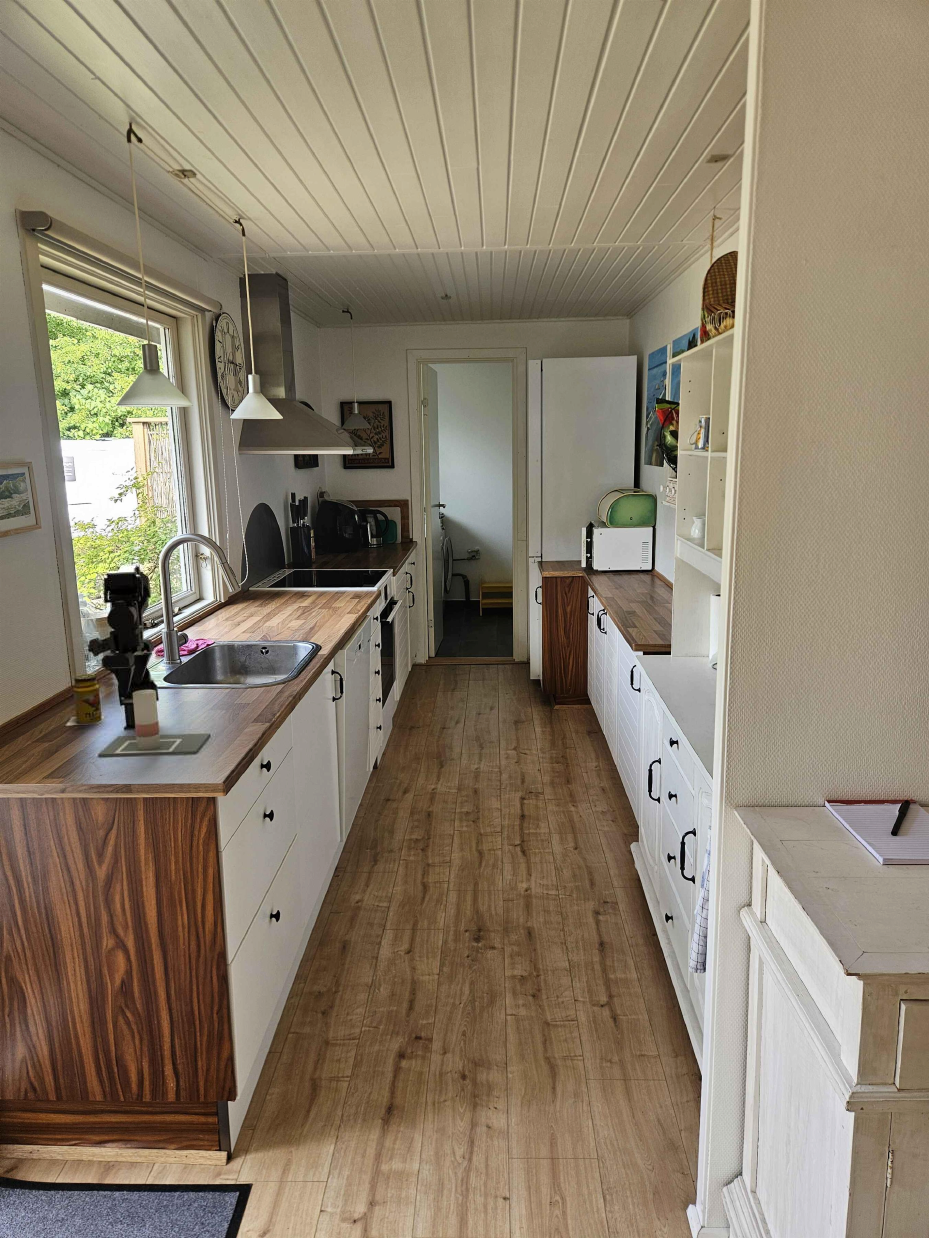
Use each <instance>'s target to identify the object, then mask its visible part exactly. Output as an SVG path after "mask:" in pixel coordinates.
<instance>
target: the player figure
mask: <svg viewBox="0 0 929 1238" xmlns="http://www.w3.org/2000/svg"><path fill="white" fill-rule="evenodd" d="M157 703H158V701H156V691H155V690H140V691H136V692H134V693H133V704H134V715H135V729H134V730H135V736H136V737H137V748H138V749H140V750H149V749H154V748H157V747H159V746H160V736H159V735H160V724H159V723H160V722H159V715H158V706H157Z"/></svg>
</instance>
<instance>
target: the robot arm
mask: <svg viewBox="0 0 929 1238" xmlns="http://www.w3.org/2000/svg"><path fill="white" fill-rule="evenodd" d="M151 597H152V589H151V584H150V577H149V576H148V575H146V574H145V573H143V571H141V568H140V565H139V564H138V565H137V564H135V563H134V564H121V565H119V566H118V567H117V571H115V570H114V571H107V573H106V576H104V577H103V602H104V604H110V603H111V607H110V608H111V609H110V610H109V612H108V613H107V616H106V621H107V624H108V626H109V627H110V628H111V630H110V631H109V635H107V636H105V637H103V638H99V637H97V636H96V637H94V638H93V639H90V640H89V641H88V644H87V652H88V653H91V654H92V656H93V657H94V658H96V657H98V656H99V655H101V654H103V653H106V652H108V651H110V652H109V653H107V654H105V655H104V656H103V657H102V658H101V667H102V668H103V669H105V670H106V671H109V672H111V673H112V674H113V675H114V677H115V679H116V681H117V694H118V700H119V707H124V709H123V710H124V717H125V718H124V720H125V725H124V726H123V730H136V729H135V715H134V704H133V693H134V692H136V691H140V690H155V691H156V701H157V702H160V698H159V697H160V696H159V690H158V685H157V684H156V682H155V680H154V679H152V675H151V671H150V670H149V668H148V664H149V662H150V660H151V657H152V655H153V652H154V651H155V646H154V645H155V644H154V642H153V641H152V640H151V639H150V638H149V639H147V638H146V639H144V613H146V611H147V610H148V608H149V605H150V604H149V599H151Z"/></svg>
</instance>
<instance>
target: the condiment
mask: <svg viewBox="0 0 929 1238" xmlns="http://www.w3.org/2000/svg"><path fill="white" fill-rule="evenodd" d="M73 680H74V684H73V685H74V687H73V698H74V705H75V706H74V709H75V715H76V716H72V717H70V720H69V721H68V722H67V723H66V724H65V726H67V727H69V726H79V725H82V726H83V725H94V724H95V725H98V724H102V721H104V719H105V717H106V714H103V715H102V708H101V707H102V706H101V695H100V686H99V685H98V684H97V683H98V680H97V676H96V674H92V673H90V674H81V675H77V676H76V677H74V679H73Z"/></svg>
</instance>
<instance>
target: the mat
mask: <svg viewBox="0 0 929 1238" xmlns="http://www.w3.org/2000/svg"><path fill="white" fill-rule="evenodd" d="M159 736H160V746H159V747H157V748H154V749H149V750H140V749H138V748H137V737H136V735H119V736H117V737H116V738H114V740H113V741H111V742H110V743H109V744H108V745H107V746H106V747H105V748H104V749H102V750H101V751H100V752H99V753H97V757H100V758H102V757H126V756H127V757H131V756H132V757H133V756H136V757H137V756H161V755H164V756H167V755H168V756H169V755H191V754H193V755H194V754H195V755H196V754H198V752H199V750H201V748H202V747H203V745H204V744H205V743H206V742H207V741H208V739H209V738H210V737H211V733H185V734H184V733H182V734H181V733H180V734H179V733H177V734H175V733H173V734H159Z"/></svg>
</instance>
